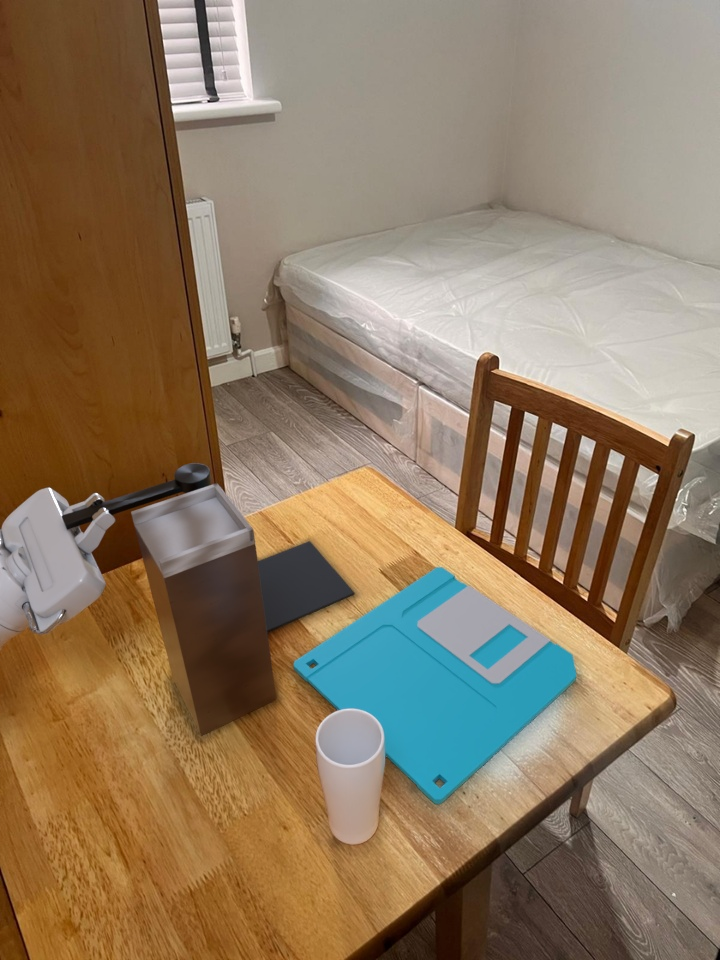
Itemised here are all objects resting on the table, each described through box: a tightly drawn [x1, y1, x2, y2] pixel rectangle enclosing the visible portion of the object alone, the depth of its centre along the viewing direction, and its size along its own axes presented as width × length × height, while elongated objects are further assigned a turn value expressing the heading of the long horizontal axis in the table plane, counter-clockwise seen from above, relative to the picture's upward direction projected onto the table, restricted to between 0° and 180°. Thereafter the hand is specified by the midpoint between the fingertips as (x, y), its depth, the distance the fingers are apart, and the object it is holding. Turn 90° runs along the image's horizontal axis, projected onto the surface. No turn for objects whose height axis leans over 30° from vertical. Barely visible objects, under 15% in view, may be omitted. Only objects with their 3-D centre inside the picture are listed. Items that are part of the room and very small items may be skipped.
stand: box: [130, 482, 277, 737], centre depth 85 cm, size 10×10×28 cm
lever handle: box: [62, 462, 213, 530], centre depth 88 cm, size 18×4×2 cm, turn 121°
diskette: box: [293, 566, 578, 805], centre depth 95 cm, size 26×28×1 cm
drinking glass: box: [314, 709, 386, 846], centre depth 74 cm, size 7×7×15 cm
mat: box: [258, 540, 355, 633], centre depth 107 cm, size 24×14×1 cm, turn 121°
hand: (106, 505), depth 86 cm, fingers closed on lever handle, 2 cm apart
